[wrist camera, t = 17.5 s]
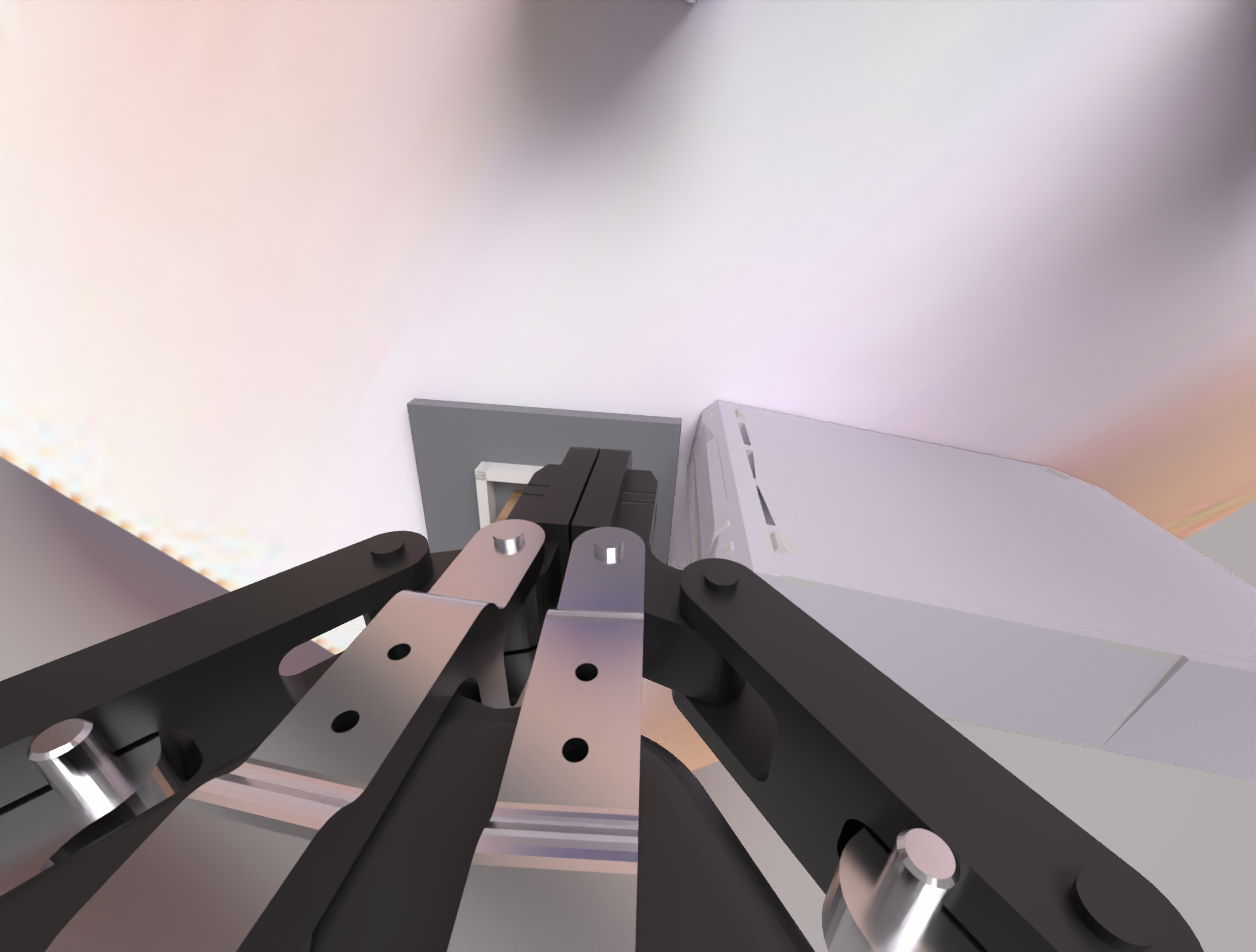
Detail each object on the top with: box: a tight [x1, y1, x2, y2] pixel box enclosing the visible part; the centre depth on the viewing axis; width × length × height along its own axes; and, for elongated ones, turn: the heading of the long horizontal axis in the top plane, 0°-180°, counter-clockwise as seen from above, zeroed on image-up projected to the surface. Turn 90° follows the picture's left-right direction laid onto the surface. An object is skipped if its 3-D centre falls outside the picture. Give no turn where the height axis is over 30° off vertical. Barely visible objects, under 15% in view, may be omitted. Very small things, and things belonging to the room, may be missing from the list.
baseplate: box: [407, 399, 681, 565], centre depth 41 cm, size 20×18×3 cm
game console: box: [688, 400, 1256, 781], centre depth 29 cm, size 6×27×20 cm, turn 80°
